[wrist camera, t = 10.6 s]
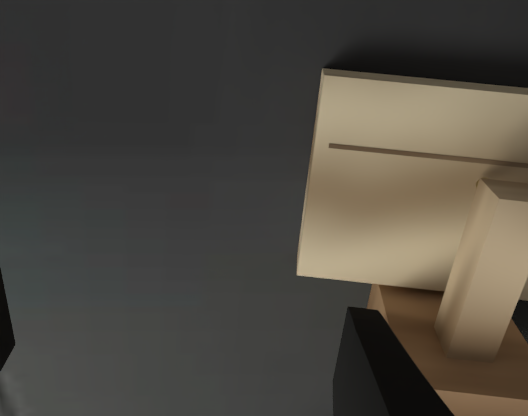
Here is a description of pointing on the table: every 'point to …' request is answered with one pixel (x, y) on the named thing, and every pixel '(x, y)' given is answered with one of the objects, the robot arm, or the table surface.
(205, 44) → the table surface
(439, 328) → the gauge
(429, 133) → the board
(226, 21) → the table surface
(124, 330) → the table surface
